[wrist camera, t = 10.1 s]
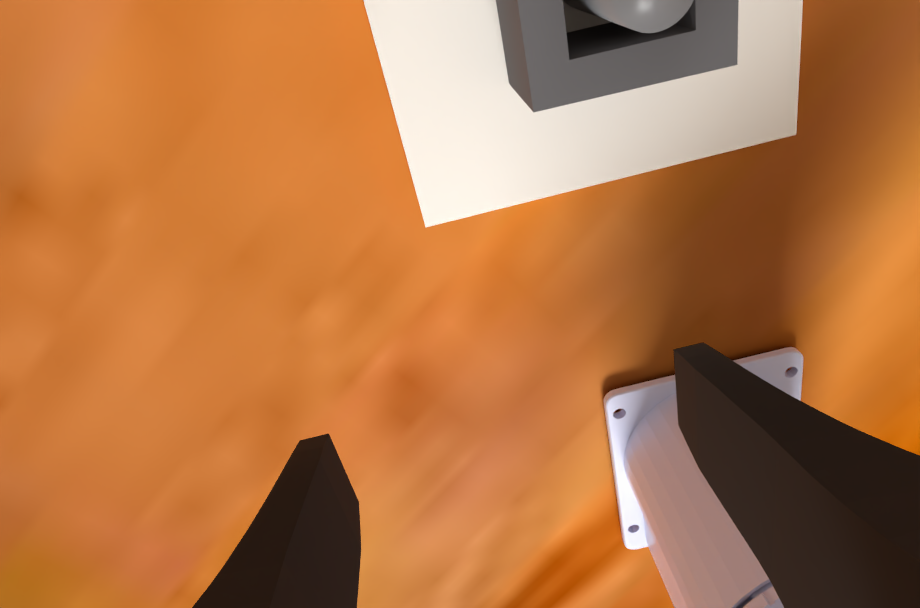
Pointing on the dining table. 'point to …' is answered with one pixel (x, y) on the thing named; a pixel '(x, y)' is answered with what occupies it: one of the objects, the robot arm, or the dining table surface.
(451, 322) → the dining table surface
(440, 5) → the peg base
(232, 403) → the dining table surface
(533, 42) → the square frame block
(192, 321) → the dining table surface
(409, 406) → the dining table surface
